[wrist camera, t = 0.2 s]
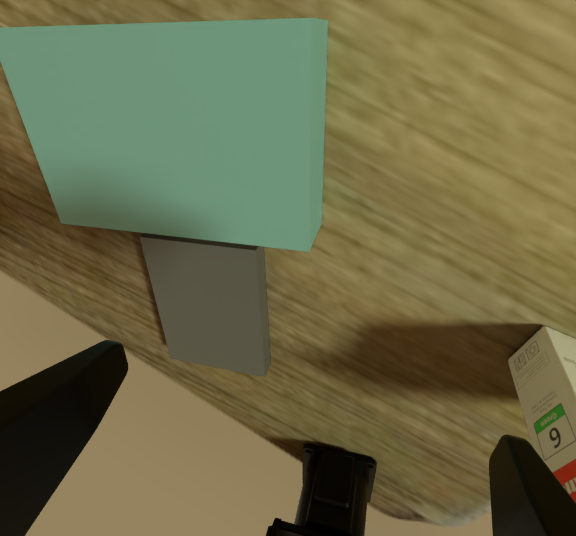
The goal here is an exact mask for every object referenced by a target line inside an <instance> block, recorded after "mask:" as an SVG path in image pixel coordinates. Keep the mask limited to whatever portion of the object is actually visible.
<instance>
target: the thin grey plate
mask: <svg viewBox="0 0 576 536" xmlns="http://www.w3.org/2000/svg"><path fill="white" fill-rule="evenodd" d="M139 238H140V242H141V245H142V249H143V253H144V257H145V261H146V265H147V269H148V273H149V276H150V280H151V284H152V288H153V292H154V296H155V300H156V304H157V307H158V311H159V315H160V319H161V323H162V327H163V331H164V335H165V339H166V342H167V346H168V350H169V354H170V358H171V359H176V360H181V361H186V362H191V363H197V364H202V365H207V366H212V367H217V368H222V369H227V370H232V371H237V372H242V373H247V374H252V375H257V376H262V377H265V376H266V373H267V371H268V368H269V366H270V364H271V357H270V340H269V324H268V307H267V291H266V274H265V257H264V247H263V246H254V245H245V244H237V243H228V242H219V241H210V240H202V239H193V238H184V237H175V236H166V235H158V234H149V233H144V234H142V235H141V236H140V237H139Z"/></svg>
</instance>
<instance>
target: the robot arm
mask: <svg viewBox="0 0 576 536" xmlns="http://www.w3.org/2000/svg"><path fill="white" fill-rule="evenodd" d="M127 371H128V362H127V359H126V355H125V351H124V347H123V345H122V344H121V343H119V342H115V341H111V340H105V341H102V342H100V343H98V344H96V345H94V346H92V347H90V348H88V349H86V350H84V351H82V352H79V353H77V354H75V355H74V356H71V357H69V358H67V359H65V360H63V361H61V362H59V363H57V364H55V365H53V366H51V367H49V368H47V369H45V370H43V371H41V372H39V373H37V374H35V375H33V376H31V377H29V378H26V379H24V380H22V381H20V382H18V383H16V384H14V385H12V386H10V387H8V388H6V389H4V390H2V391H0V536H25V535H26V533H27V532H28V530H29V529H30V527H31V525H32V524H33V523H34V521H35V520H36V518H37V517H38V515H39V514H40V512H41V511H42V509H43V508H44V506H45V505H46V503H47V502H48V500H49V499H50V497H51V496H52V494H53V493H54V492H55V490H56V489H57V487H58V485H59V484H60V482H61V481H62V480H63V478H64V477H65V475H66V474H67V472H68V471H69V469H70V468H71V466H72V465H73V463H74V462H75V460H76V459H77V457H78V456H79V454H80V453H81V451H82V450H83V448H84V447H85V446H86V444H87V443H88V441H89V440H90V438H91V437H92V435H93V433H94V432H95V430H96V429H97V427H98V425H99V424H100V422H101V420H102V418H103V416H104V415H105V413H106V411H107V409H108V407H109V406H110V404H111V402H112V400H113V398H114V396H115V395H116V393H117V391H118V389H119V387H120V385H121V383H122V382H123V380H124V378H125V376H126V374H127ZM376 467H377V462H376V461H375V460H374V459H370V458H366V457H362V456H358V455H353V454H349V453H345V452H340V451H336V450H332V449H328V448H323V447H319V446H315V445H310V444H305V445H304V447H303V487H302V491H301V496H300V500H299V505H298V509H297V513H296V518H295V522H294V524H292V523H288V522H285V521H282V520H281V519H279V518H275V520H274V522H273V525H272V526H269V527H268V530H267V534H266V536H364V534H365V522H366V509H367V502H370V499H371V494H372V488H373V483H374V478H375V473H376ZM489 477H490V494H491V511H492V528H493V536H576V502H575V501H574V500H573V498H572V497H571V496H570V494H569V493H568V492H567V491H566V489H565V488H564V487H563V485H562V484H561V483H560V482H559V480H558V479H557V478H556V476H555V475H554V474H553V472H552V471H551V470H550V469H549V467H548V466H547V465H546V463H545V462H544V461H543V460H542V458H541V457H540V456H539V454H538V453H537V452H536V451H535V449H534V448H533V447H532V445H531V444H530V443H529V442H528V441H527V440H525V439H523V438H520V437H516V436H512V435H503V436H502V437H501V439H500V440H499V442H498V444H497V446H496V447H495V449H494V451H493V453H492V454H491V457H490V460H489Z"/></svg>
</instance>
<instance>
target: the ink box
mask: <svg viewBox="0 0 576 536" xmlns="http://www.w3.org/2000/svg"><path fill="white" fill-rule="evenodd" d="M508 364H509V368H510V371H511V374H512V378H513V381H514V385H515V388H516V391H517V395H518V398H519V401H520V405H521V408H522V411H523V415H524V418H525V422H526V425H527V429H528V433H529V435H530V439H531V442H532V446H533V448H534V449H535V451H536V452H537V453H538V454H539V456H540V457H541V458H542V460H543V461H544V462H545V463H546V465H547V466H548V467H549V469H550V470H551V471H552V472H553V474H554V475H555V476H556V478H557V479H558V480H559V482H560V483H561V484H562V485H563V487H564V488H565V489H566V491H567V492H568V493H569V494H570V496H571V497H572V498H573V500H574V501H575V502H576V339H575V338H572V337H570V336H567V335H565V334H563V333H560V332H558V331H556V330H553V329H551V328H549V327H546V326H543V327H542V328H541V329H540V330H538V331H537V332H536V333H535V334H534V335H533V336H532V337H531V338H530V339H529V340H528V341H527V342H526V343H525V344H524V345H523V346H522V347H521V348H520V349H519V350H518V351H516V352H515V353H514V354H513V355H512V356H511V357H510V358H509V359H508Z"/></svg>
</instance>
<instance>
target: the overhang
mask: <svg viewBox="0 0 576 536" xmlns="http://www.w3.org/2000/svg"><path fill="white" fill-rule="evenodd" d="M327 39H328V20H323V19H316V18H294V19H263V20H231V21H199V22H167V23H135V24H103V25H71V26H40V27H8V28H0V62H1V64H2V67H3V70H4V72H5V75H6V78H7V80H8V83H9V86H10V88H11V91H12V94H13V96H14V99H15V102H16V104H17V107H18V110H19V112H20V115H21V118H22V120H23V123H24V126H25V128H26V131H27V134H28V136H29V139H30V142H31V144H32V147H33V150H34V152H35V155H36V158H37V160H38V163H39V166H40V168H41V171H42V174H43V176H44V179H45V182H46V184H47V187H48V190H49V192H50V195H51V198H52V200H53V203H54V206H55V208H56V211H57V214H58V216H59V219H60V222H61V224H70V225H79V226H87V227H96V228H105V229H114V230H123V231H131V232H140V233H149V234H158V235H166V236H175V237H184V238H193V239H202V240H210V241H219V242H228V243H237V244H245V245H254V246H263V247H272V248H280V249H289V250H298V251H307V252H309V251H310V248H311V246H312V244H313V242H314V239H315V237H316V235H317V233H318V230H319V228H320V226H321V223H322V195H323V163H324V132H325V101H326V70H327Z"/></svg>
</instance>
